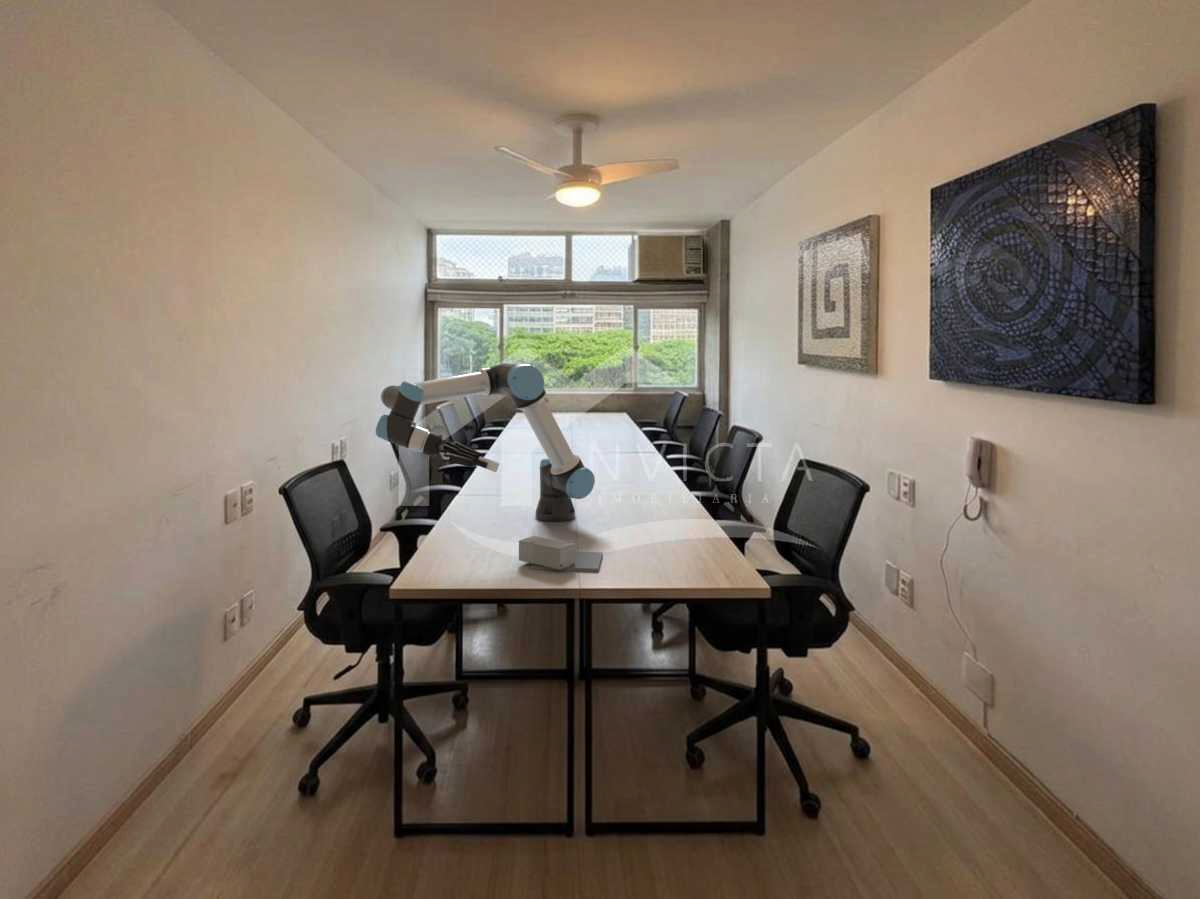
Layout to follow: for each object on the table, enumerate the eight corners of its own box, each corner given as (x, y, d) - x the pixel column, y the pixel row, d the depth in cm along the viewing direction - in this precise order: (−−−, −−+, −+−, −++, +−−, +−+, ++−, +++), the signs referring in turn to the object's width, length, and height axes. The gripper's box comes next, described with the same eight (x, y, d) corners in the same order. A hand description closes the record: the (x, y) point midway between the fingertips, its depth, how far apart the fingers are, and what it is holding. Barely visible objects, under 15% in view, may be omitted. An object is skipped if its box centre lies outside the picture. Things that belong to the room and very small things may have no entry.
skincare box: (533, 535, 224) (576, 540, 215) (534, 557, 224) (576, 564, 216) (517, 540, 216) (561, 546, 208) (517, 563, 217) (561, 570, 209)
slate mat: (531, 569, 214) (531, 566, 213) (539, 553, 229) (539, 550, 229) (598, 571, 212) (598, 568, 212) (602, 555, 228) (602, 552, 228)
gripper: (428, 444, 232) (498, 469, 234) (417, 460, 220) (490, 486, 222) (434, 424, 229) (505, 449, 231) (423, 439, 217) (497, 465, 219)
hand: (497, 467), depth 226 cm, fingers closed
